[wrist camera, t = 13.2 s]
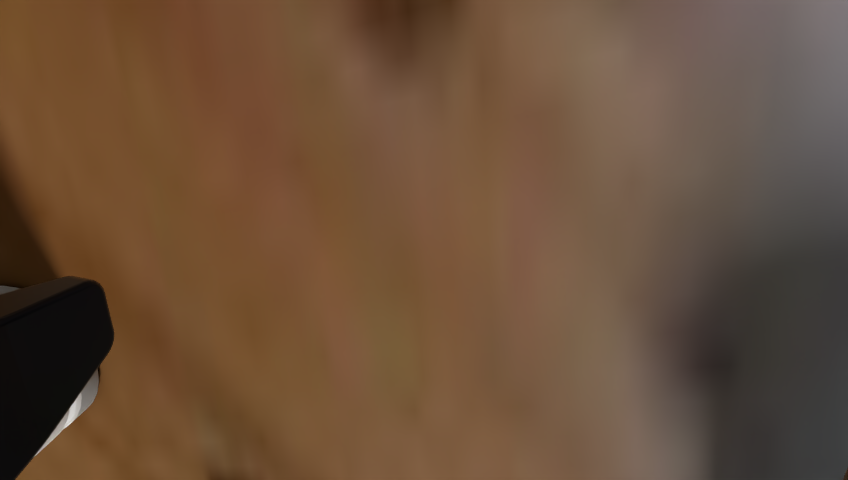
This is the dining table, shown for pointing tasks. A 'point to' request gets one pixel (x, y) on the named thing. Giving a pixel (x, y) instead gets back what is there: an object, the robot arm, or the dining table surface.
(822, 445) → the dining table surface
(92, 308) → the robot arm
